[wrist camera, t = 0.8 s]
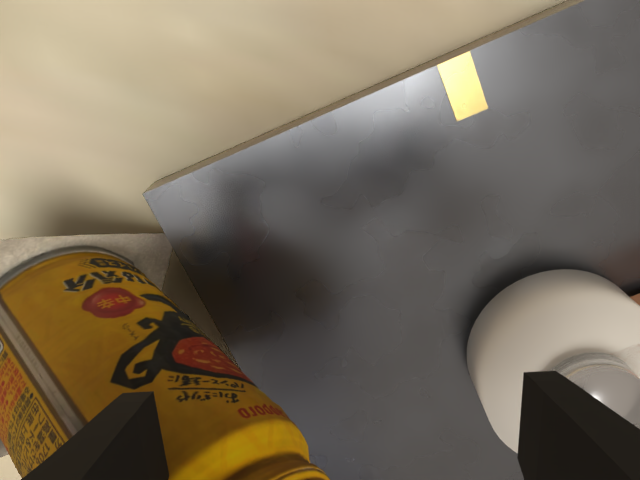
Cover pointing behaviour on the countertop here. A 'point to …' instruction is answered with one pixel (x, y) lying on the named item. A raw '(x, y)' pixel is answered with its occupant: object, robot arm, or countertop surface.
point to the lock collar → (546, 336)
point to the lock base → (421, 238)
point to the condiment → (126, 362)
